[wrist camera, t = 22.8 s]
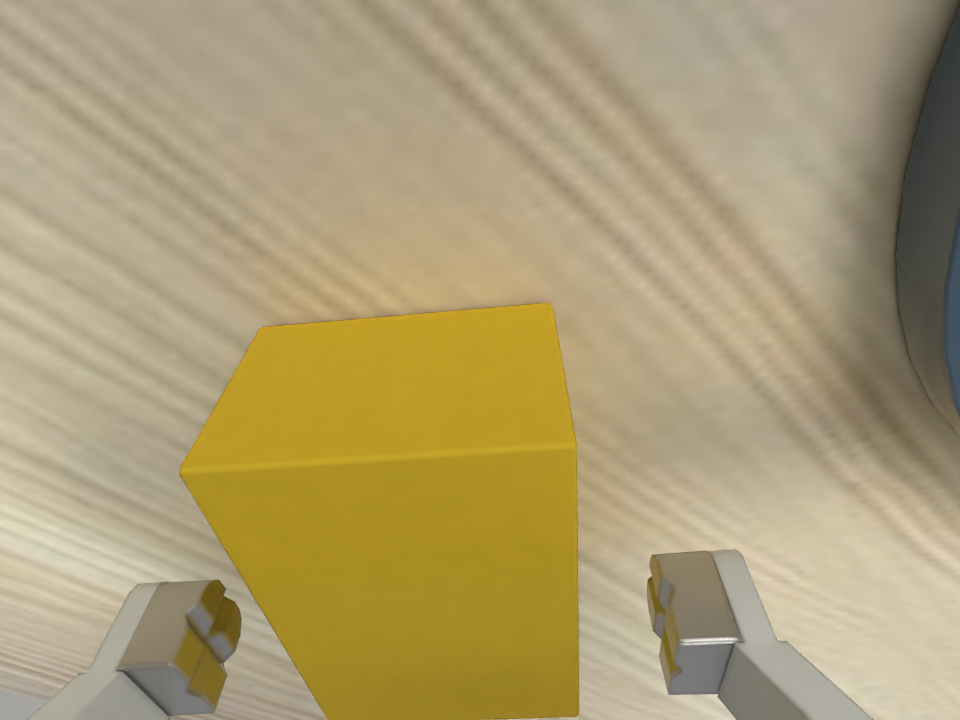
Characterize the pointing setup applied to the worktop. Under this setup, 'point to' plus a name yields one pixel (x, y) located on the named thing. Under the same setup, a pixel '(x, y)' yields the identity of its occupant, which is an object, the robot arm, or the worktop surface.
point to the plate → (934, 238)
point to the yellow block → (406, 510)
